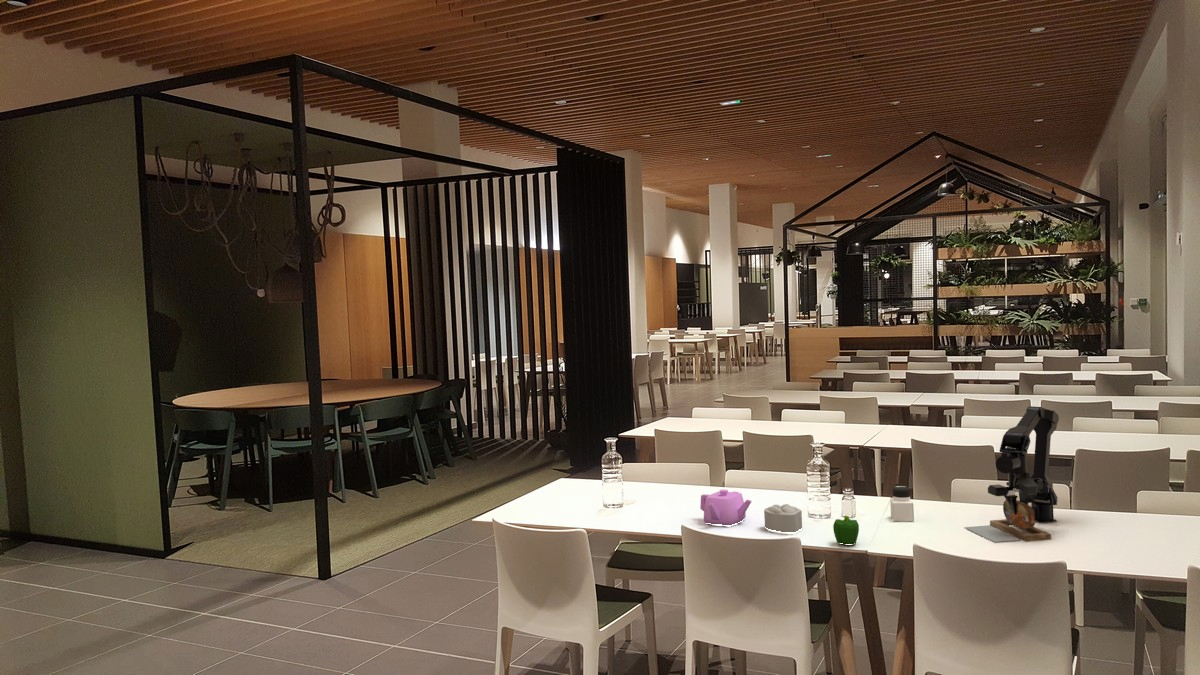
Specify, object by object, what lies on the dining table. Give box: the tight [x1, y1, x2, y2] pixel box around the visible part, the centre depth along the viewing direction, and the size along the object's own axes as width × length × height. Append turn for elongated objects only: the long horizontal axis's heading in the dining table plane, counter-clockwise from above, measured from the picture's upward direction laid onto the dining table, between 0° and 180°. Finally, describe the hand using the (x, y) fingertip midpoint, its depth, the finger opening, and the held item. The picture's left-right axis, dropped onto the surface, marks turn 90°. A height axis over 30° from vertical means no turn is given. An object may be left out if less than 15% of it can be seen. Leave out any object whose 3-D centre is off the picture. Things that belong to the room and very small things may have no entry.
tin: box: [1002, 499, 1036, 530], centre depth 288 cm, size 15×3×8 cm, turn 5°
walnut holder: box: [989, 518, 1052, 542], centre depth 288 cm, size 9×21×2 cm, turn 5°
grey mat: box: [963, 524, 1022, 544], centre depth 287 cm, size 9×19×1 cm, turn 5°
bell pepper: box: [832, 515, 860, 545], centre depth 284 cm, size 8×8×10 cm
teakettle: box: [699, 488, 752, 525], centre depth 321 cm, size 17×17×12 cm
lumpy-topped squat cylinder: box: [763, 503, 803, 532], centre depth 306 cm, size 10×13×9 cm
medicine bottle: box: [889, 485, 915, 522], centre depth 312 cm, size 7×7×12 cm
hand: (1018, 513), depth 288 cm, fingers closed on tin, 2 cm apart
